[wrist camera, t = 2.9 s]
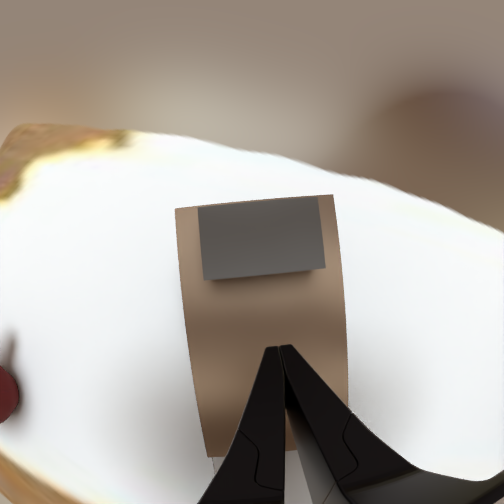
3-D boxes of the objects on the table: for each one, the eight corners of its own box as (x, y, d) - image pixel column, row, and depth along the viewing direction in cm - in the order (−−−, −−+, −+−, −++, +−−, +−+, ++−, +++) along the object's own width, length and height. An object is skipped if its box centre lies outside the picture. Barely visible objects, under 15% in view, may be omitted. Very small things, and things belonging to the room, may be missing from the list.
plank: (340, 428, 16) (361, 462, 12) (210, 444, 16) (202, 482, 12) (325, 200, 17) (348, 181, 13) (180, 213, 16) (161, 197, 12)
